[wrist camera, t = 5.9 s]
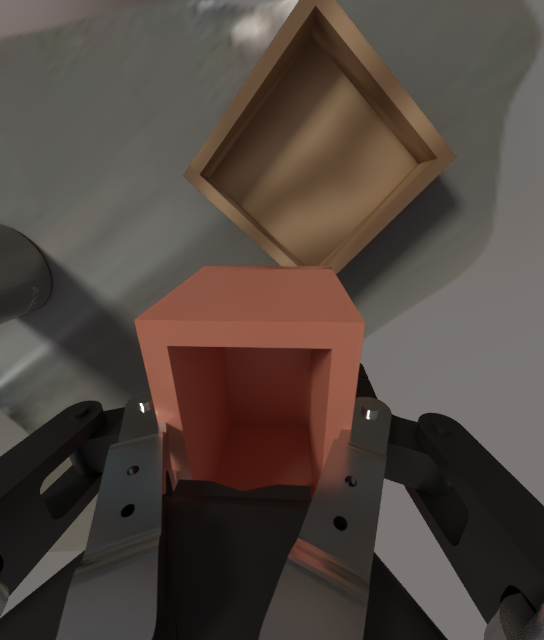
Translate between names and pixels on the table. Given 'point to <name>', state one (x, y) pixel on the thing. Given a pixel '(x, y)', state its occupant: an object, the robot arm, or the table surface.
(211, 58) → the table surface
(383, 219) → the wooden crate
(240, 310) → the red open box
